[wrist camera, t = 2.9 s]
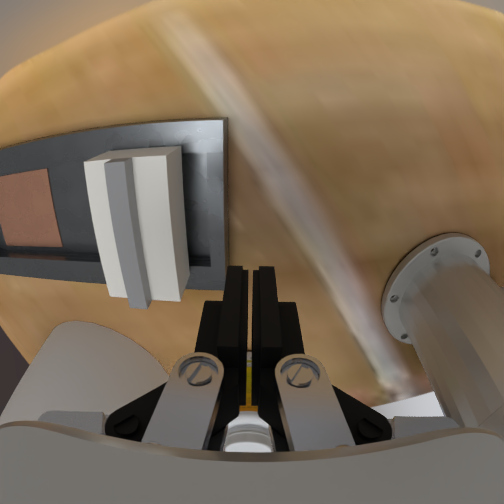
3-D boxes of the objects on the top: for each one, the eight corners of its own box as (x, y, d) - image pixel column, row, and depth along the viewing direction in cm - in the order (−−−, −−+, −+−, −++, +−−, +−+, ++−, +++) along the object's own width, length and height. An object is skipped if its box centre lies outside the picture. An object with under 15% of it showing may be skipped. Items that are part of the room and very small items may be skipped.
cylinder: (62, 294, 27) (-64, 523, 2) (198, 376, 32) (161, 619, 7) (42, 365, 34) (-29, 519, 9) (142, 423, 39) (105, 583, 14)
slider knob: (186, 142, 19) (160, 159, 14) (193, 263, 23) (176, 311, 18) (117, 147, 19) (74, 166, 14) (133, 261, 23) (104, 305, 18)
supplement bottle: (231, 343, 29) (222, 433, 20) (285, 354, 30) (291, 442, 21) (220, 376, 32) (210, 457, 23) (268, 385, 32) (269, 465, 23)
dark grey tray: (227, 117, 19) (223, 120, 17) (229, 269, 25) (225, 290, 22) (-21, 154, 20) (-41, 162, 17) (3, 258, 25) (-13, 272, 23)
